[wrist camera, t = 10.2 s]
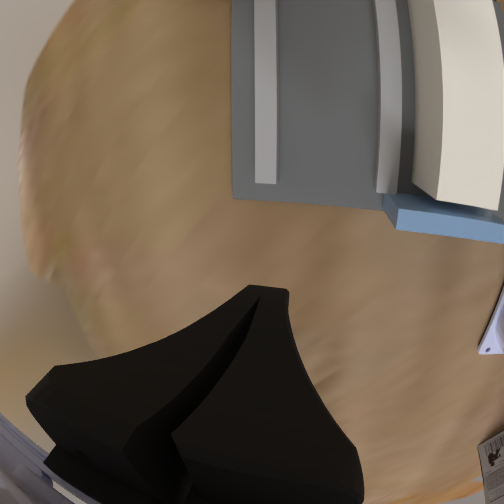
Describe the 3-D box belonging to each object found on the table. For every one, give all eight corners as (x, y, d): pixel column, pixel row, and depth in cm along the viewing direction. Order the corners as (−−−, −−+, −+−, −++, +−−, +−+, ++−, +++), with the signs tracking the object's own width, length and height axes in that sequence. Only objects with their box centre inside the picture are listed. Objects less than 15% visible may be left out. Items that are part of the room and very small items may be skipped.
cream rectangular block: (458, 9, 9) (487, -16, 5) (462, 190, 14) (497, 210, 10) (406, -6, 10) (424, -38, 6) (411, 181, 15) (436, 200, 11)
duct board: (497, 5, 8) (527, -14, 4) (498, 226, 14) (531, 252, 11) (233, -31, 12) (209, -62, 8) (234, 197, 19) (208, 217, 15)
